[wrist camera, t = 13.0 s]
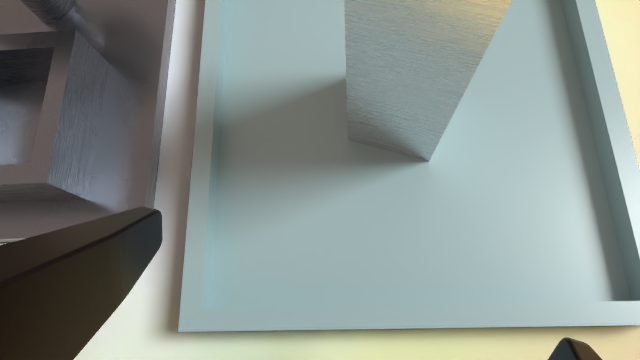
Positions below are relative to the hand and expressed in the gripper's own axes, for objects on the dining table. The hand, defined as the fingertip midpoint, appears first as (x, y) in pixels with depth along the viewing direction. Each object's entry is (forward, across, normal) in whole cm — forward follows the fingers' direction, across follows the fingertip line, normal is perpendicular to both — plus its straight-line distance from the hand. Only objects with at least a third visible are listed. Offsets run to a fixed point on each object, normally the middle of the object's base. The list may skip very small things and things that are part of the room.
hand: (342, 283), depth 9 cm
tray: (+11, 0, 0) cm, 11 cm away
